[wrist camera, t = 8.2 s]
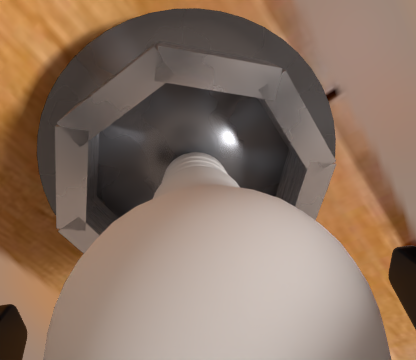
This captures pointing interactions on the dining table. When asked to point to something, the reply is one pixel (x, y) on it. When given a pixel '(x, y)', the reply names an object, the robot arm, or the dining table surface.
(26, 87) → the dining table surface
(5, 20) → the dining table surface
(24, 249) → the dining table surface
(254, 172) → the socket base
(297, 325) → the lightbulb
